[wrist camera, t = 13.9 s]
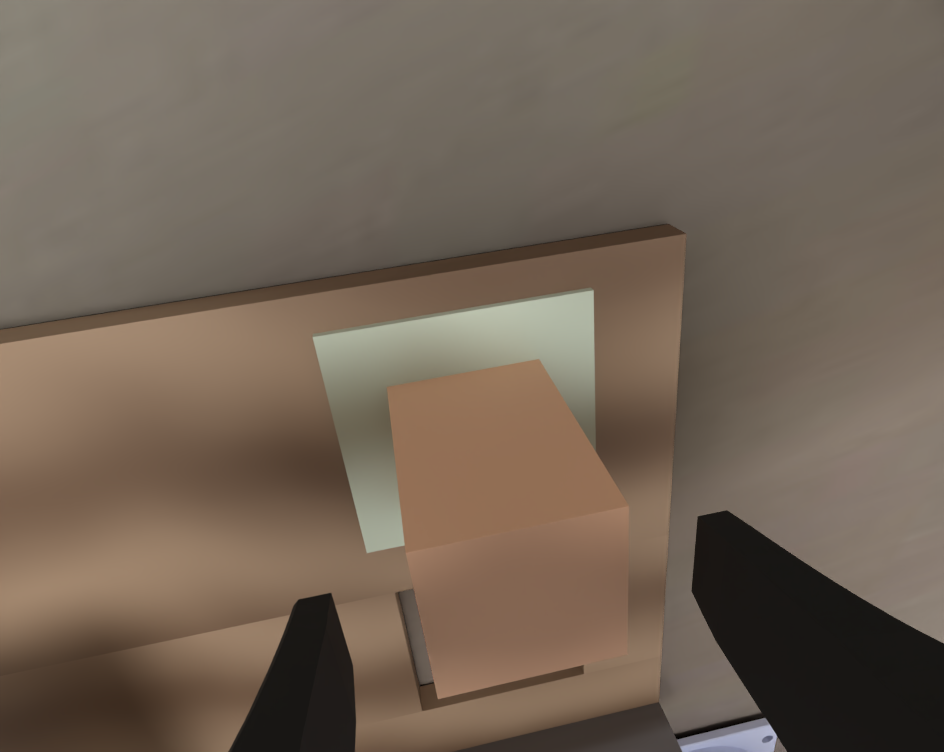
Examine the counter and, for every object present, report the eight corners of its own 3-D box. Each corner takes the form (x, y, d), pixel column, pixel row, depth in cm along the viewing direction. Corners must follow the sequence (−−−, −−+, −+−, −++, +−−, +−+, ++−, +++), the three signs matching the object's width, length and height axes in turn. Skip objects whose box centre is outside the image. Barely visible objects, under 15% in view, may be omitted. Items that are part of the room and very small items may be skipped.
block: (547, 480, 18) (627, 654, 13) (411, 508, 18) (437, 699, 13) (539, 359, 16) (628, 505, 11) (386, 387, 16) (405, 553, 11)
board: (646, 713, 27) (724, 887, 21) (25, 863, 24) (-70, 1105, 19) (668, 224, 17) (828, 312, 11) (-396, 392, 14) (-876, 615, 8)
